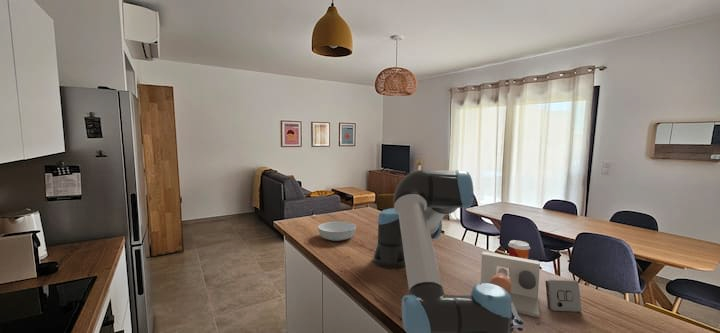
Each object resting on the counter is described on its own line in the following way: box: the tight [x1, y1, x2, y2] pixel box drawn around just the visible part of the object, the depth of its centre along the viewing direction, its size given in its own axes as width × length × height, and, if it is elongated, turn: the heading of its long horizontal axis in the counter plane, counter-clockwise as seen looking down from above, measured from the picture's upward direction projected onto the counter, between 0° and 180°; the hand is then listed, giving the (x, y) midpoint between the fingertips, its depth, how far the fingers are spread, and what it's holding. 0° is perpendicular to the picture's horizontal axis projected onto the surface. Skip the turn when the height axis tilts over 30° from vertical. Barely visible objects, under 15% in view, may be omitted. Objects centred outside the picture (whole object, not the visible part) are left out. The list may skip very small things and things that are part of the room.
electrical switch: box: [545, 279, 582, 313], centre depth 97 cm, size 9×5×9 cm, turn 86°
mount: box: [480, 251, 541, 319], centre depth 101 cm, size 18×14×13 cm
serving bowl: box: [317, 221, 357, 242], centre depth 163 cm, size 21×21×7 cm
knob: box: [490, 267, 511, 294], centre depth 100 cm, size 6×13×6 cm, turn 151°
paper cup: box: [507, 239, 531, 277], centre depth 118 cm, size 8×8×14 cm
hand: (500, 291), depth 92 cm, fingers closed
